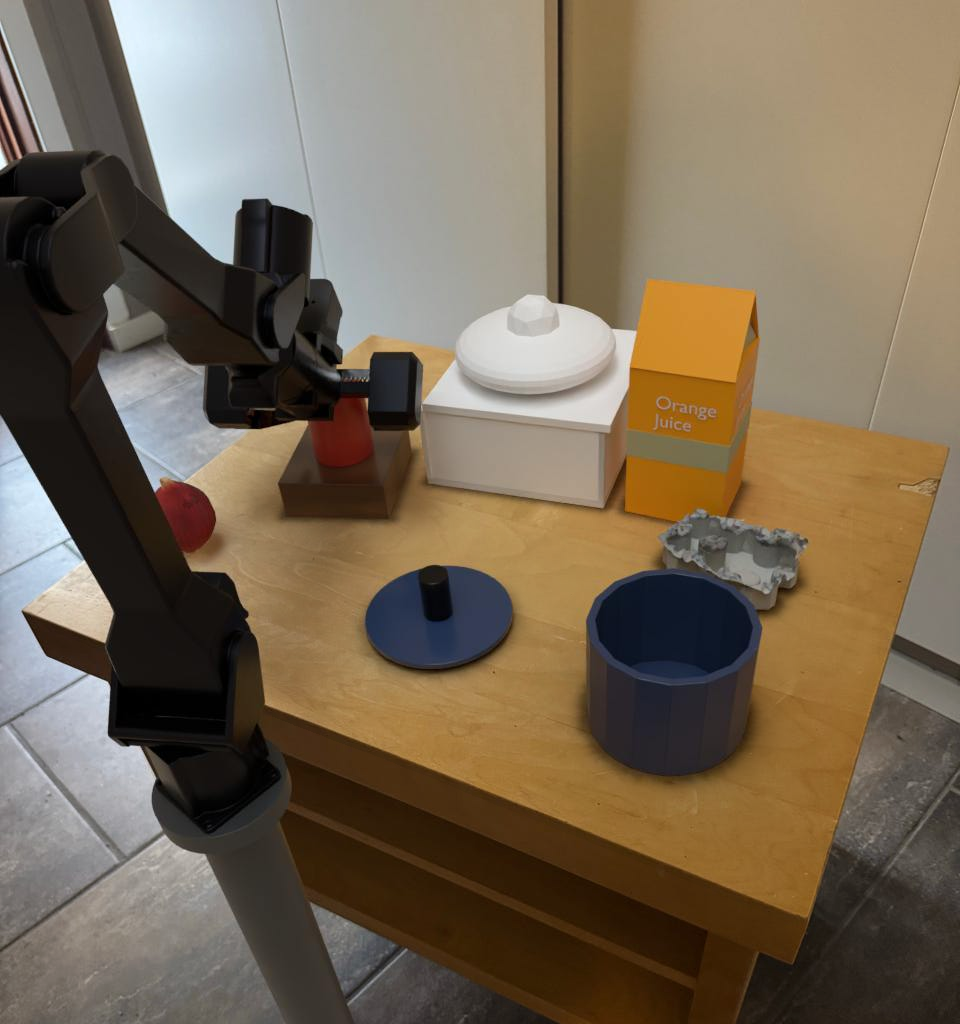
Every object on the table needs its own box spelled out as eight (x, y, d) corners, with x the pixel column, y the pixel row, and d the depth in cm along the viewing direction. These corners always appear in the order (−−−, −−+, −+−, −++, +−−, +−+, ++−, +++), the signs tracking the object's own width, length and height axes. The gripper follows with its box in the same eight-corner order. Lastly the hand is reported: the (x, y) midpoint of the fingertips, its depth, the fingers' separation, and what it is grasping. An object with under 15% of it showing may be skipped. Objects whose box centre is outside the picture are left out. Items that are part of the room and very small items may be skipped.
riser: (388, 519, 90) (382, 485, 87) (286, 516, 91) (277, 482, 89) (412, 454, 98) (407, 421, 95) (317, 452, 99) (310, 420, 97)
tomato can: (341, 474, 89) (327, 406, 84) (303, 454, 92) (287, 388, 87) (385, 447, 92) (374, 380, 87) (347, 429, 95) (334, 363, 90)
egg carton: (808, 578, 79) (817, 539, 76) (756, 625, 76) (762, 586, 73) (701, 528, 85) (705, 489, 82) (647, 569, 81) (650, 530, 79)
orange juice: (650, 466, 93) (661, 259, 79) (742, 483, 89) (770, 270, 76) (623, 512, 88) (629, 299, 74) (719, 531, 84) (745, 313, 71)
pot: (687, 803, 64) (697, 711, 58) (556, 723, 70) (552, 633, 64) (775, 705, 69) (793, 612, 63) (647, 639, 75) (652, 548, 69)
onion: (216, 524, 91) (192, 451, 86) (232, 556, 87) (208, 482, 82) (155, 544, 90) (127, 471, 84) (169, 578, 86) (140, 504, 80)
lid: (441, 697, 73) (433, 649, 69) (336, 631, 79) (325, 583, 75) (543, 613, 79) (541, 564, 75) (438, 557, 85) (432, 510, 81)
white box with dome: (487, 394, 105) (475, 247, 94) (650, 412, 100) (658, 259, 89) (427, 484, 93) (405, 329, 82) (608, 510, 88) (611, 348, 77)
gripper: (403, 260, 74) (443, 329, 89) (175, 264, 77) (252, 330, 92) (396, 405, 74) (437, 449, 89) (167, 403, 77) (246, 446, 92)
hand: (342, 415), depth 91 cm, fingers open, 9 cm apart
